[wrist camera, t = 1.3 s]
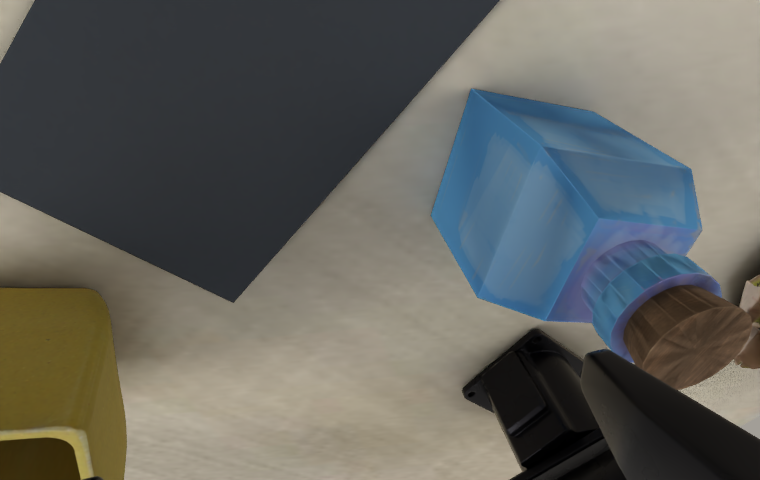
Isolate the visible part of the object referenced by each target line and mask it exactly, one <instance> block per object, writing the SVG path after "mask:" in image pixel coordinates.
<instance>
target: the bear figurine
mask: <svg viewBox="0 0 760 480" xmlns="http://www.w3.org/2000/svg"><path fill="white" fill-rule="evenodd" d="M739 307H740V308H742V309H743V310H744V311H745V312H747V313H748V314H749V315H750V316H751V322H752V330H751V333H750V336H749V339H748V341H747V342H746V344H745V345H744V347H743V349H742V350H741V352H740V353H739V354H738V355H737V356H736V357H735V358H734V362H735V364H736V365H739V364H741V365H740V366H741V367H742V368H751V369H757V368H760V274H759V275H758V276H756V277H755V278H753V279H751V280H750V281H746V284H745V287H744V291H743V294H742V298H741V301H740V305H739Z"/></svg>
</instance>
